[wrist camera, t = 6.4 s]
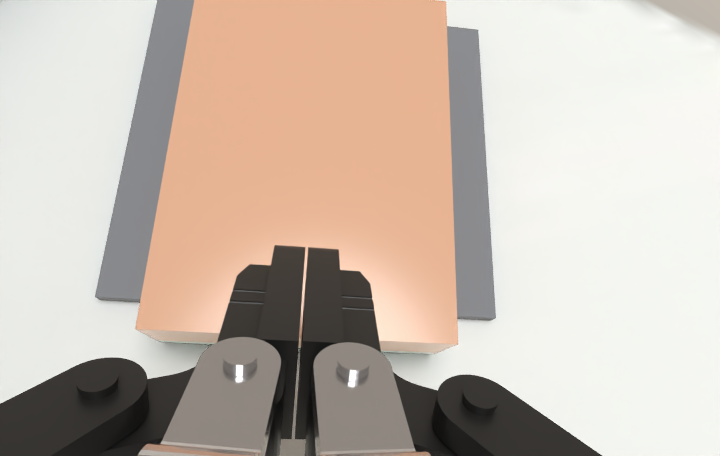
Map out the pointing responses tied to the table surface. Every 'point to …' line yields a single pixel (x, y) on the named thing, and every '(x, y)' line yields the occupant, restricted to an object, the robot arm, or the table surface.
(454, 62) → the slate mat
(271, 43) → the tile
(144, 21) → the table surface
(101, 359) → the robot arm
